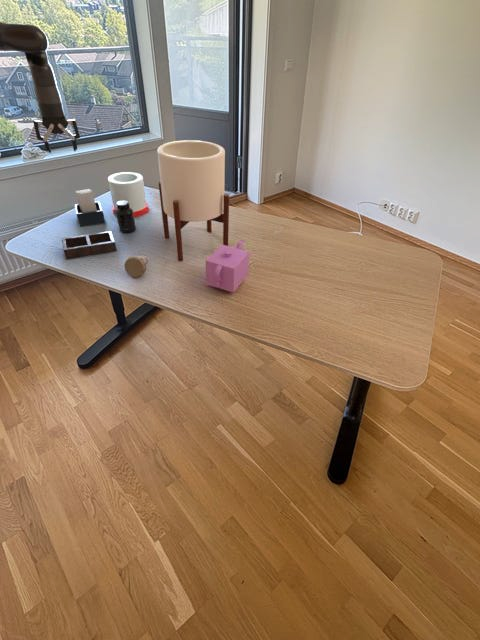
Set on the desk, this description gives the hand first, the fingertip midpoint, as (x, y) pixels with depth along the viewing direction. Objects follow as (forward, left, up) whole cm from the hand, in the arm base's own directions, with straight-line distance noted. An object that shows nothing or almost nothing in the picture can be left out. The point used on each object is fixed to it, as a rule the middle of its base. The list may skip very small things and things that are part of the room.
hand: (62, 151), depth 129 cm
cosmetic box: (+4, +3, -29) cm, 29 cm away
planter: (+40, -33, -29) cm, 60 cm away
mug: (+15, -44, -29) cm, 55 cm away
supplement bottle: (+17, -12, -29) cm, 36 cm away
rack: (+1, -23, -29) cm, 37 cm away
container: (+22, +8, -29) cm, 37 cm away
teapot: (+43, -61, -29) cm, 80 cm away
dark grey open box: (+4, +3, -29) cm, 29 cm away
